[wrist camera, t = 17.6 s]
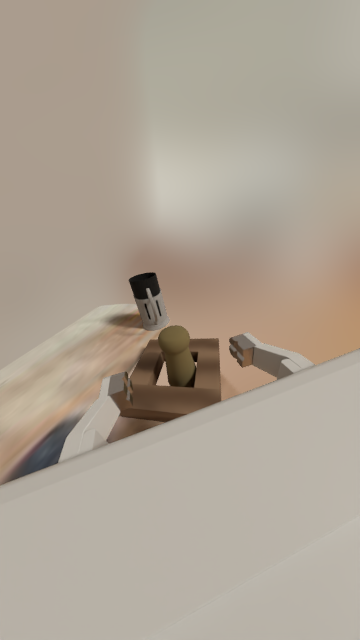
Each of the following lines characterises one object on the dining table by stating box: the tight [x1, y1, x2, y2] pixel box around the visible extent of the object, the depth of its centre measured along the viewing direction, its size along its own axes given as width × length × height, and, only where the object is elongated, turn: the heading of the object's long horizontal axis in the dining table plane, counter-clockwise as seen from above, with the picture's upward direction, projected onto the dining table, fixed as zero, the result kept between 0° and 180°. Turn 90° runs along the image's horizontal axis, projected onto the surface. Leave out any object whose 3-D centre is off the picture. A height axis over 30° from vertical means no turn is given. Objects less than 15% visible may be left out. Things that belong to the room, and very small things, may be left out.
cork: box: [158, 326, 196, 388], centre depth 27 cm, size 6×6×11 cm
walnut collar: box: [120, 338, 221, 422], centre depth 29 cm, size 16×16×3 cm
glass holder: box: [129, 273, 170, 331], centre depth 43 cm, size 9×14×15 cm, turn 19°
